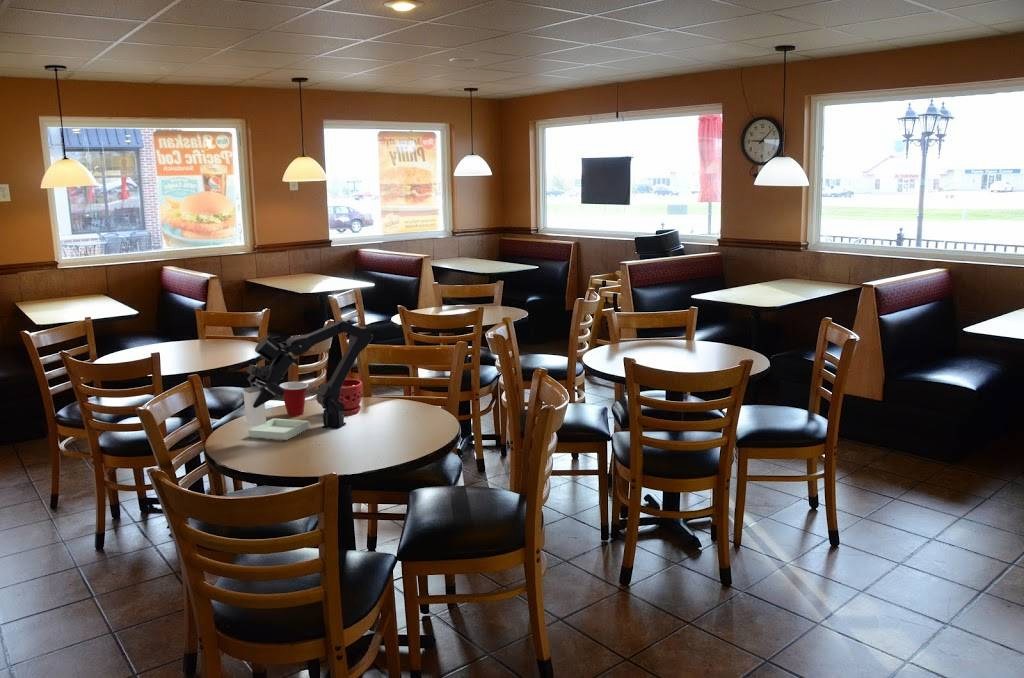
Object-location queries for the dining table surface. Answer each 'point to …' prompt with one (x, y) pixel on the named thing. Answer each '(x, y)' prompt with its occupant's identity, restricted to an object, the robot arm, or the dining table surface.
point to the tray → (279, 429)
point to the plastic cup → (294, 397)
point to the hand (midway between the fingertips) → (250, 405)
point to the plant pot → (351, 396)
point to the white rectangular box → (253, 414)
